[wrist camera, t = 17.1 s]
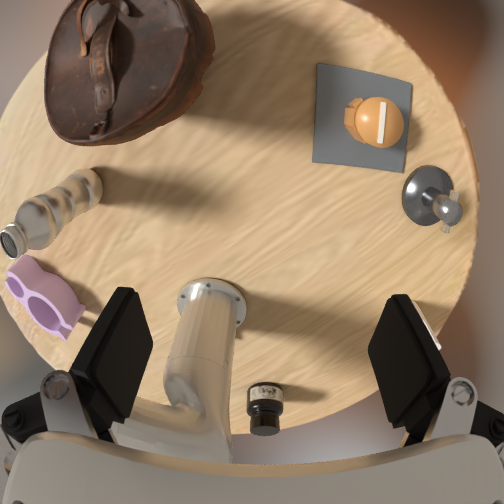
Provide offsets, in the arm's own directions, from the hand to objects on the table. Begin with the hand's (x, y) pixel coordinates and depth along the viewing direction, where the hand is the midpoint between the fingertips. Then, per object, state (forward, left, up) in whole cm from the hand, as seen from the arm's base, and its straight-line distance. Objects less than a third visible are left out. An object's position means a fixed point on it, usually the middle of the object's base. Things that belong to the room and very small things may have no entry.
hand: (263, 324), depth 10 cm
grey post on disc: (-3, -27, -30) cm, 41 cm away
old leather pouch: (+14, +14, -31) cm, 36 cm away
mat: (+7, -14, -30) cm, 34 cm away
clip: (-26, +47, -31) cm, 62 cm away
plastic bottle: (-3, +27, -31) cm, 41 cm away
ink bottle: (-55, -3, -31) cm, 63 cm away
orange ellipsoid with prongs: (+7, -14, -30) cm, 34 cm away
